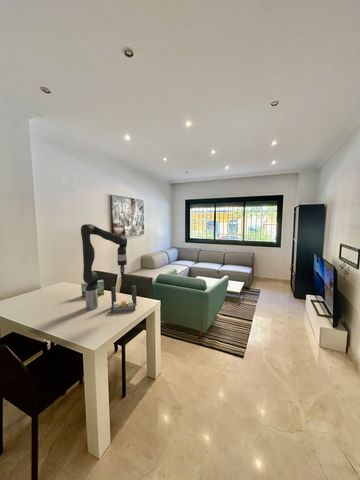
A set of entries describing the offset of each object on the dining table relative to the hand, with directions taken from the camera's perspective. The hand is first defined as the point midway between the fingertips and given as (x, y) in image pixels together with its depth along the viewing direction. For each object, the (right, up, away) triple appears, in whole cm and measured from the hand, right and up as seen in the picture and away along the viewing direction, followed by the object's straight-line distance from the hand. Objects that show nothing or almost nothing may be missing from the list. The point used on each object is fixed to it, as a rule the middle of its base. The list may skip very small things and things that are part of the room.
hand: (122, 279), depth 169 cm
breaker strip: (0, -28, +3) cm, 28 cm away
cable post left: (-11, -27, +10) cm, 31 cm away
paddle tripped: (0, -24, +3) cm, 24 cm away
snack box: (-42, -25, +37) cm, 61 cm away
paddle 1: (-6, -24, +1) cm, 25 cm away
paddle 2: (+6, -24, +4) cm, 25 cm away
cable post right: (+7, -27, +14) cm, 31 cm away
